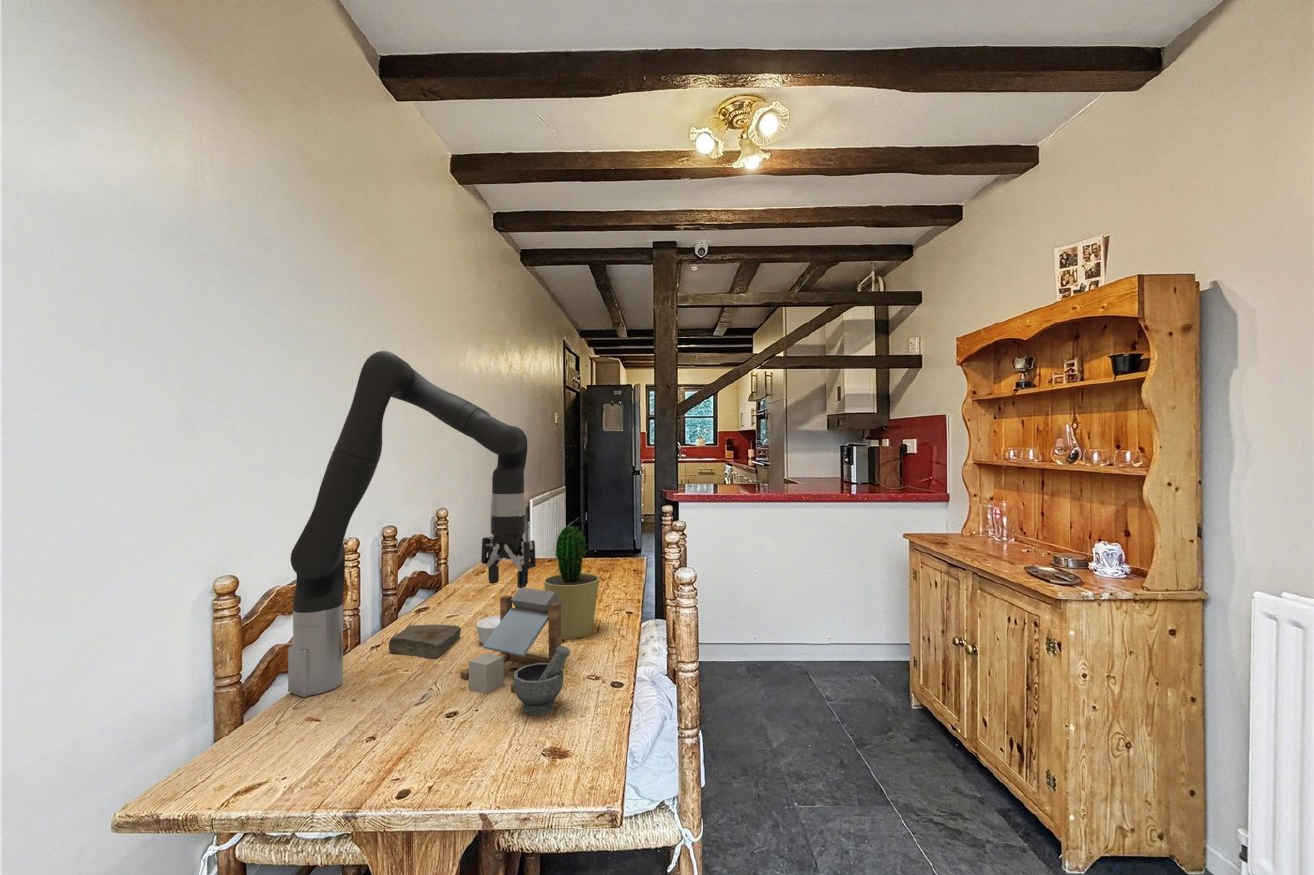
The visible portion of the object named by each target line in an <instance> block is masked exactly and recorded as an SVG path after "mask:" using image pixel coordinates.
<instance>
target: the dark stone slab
mask: <svg viewBox="0 0 1314 875" xmlns="http://www.w3.org/2000/svg"><path fill="white" fill-rule="evenodd" d="M461 632H462V628H461V626H460V625H451V624H437V623H436V624H418V625H417V624H413V625H412V624H411V625H409V626H407V627H405V628H404V629H403V630H402V631H400V632H397V633H396V634H395V635H393V636H392V637H391V638H390V639H389V642H388V650H389V652H390V653H393V654H395V655H399V656H409V657H411V656H412V657H416V658H423V659H438V658H440V657H441V656H442V655H444V654H445V653H446V652H447V651H448V650H449V649H451V647H452V646H453V645H455V643H456V642H457V641H459V640H460V638H461Z"/></svg>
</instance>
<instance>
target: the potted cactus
mask: <svg viewBox="0 0 1314 875" xmlns="http://www.w3.org/2000/svg"><path fill="white" fill-rule="evenodd" d="M556 534H557V535H556ZM556 534H555V536H556V537H557V539H556V540H555V542H556V543H553V544H554V546H555V548H553V549H554V551H553V552H554V555H553V556H552V558H553V557H554V558H553V561H558V562H557V566H558V568H557V571H556V572H558V574H554V575H550V576H548V577H545V578H544V579H543V584H544V586H543V587H544V591H551V592H555V593H556V595H557V596H558V598H559V600H560V602H561V604H562V606H563V607H562V609H561V640H574V639H581V638H585V637H587V636H589V635H590V634H592V633H593V630H594V623H595V622H594V621H595V614H596V607H597V598H598V590H599V585H600V584H599V583H600V576H599V575H597V574H593V573H587V572H582V569H583V562H584V559H583V558H585V556H586V552H587V548H586V547H587V545H589V544H588V543H587V544H586V539H585V538H586V536H584V535H583V534H584V532H583V531H581V530H580V527H579V526H575V525H574V526H573V525H571V526H565V527H563V528H562V529H561V532H560V531H559V533H558V532H556Z"/></svg>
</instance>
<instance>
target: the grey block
mask: <svg viewBox="0 0 1314 875" xmlns="http://www.w3.org/2000/svg"><path fill="white" fill-rule="evenodd" d="M504 663H505V662H504V661H503V657H502V656H498V654H493V653H489V652H488V653H487V652H485V653H484V654H481V655H480V656H478V657H475V658H473V659H470V660H469V661H468V668H469V679H468V690H469V691H473V692H478V693H482V694H485V695H488V694H489V693H491V692H492V691H494V690H496V689H498V688H500V687H502V686H504V682H505V681H504V677H505V675H504V673H505V672H504V671H505V670H504V665H505V664H504Z"/></svg>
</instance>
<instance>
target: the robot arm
mask: <svg viewBox="0 0 1314 875" xmlns="http://www.w3.org/2000/svg"><path fill="white" fill-rule="evenodd" d="M357 380H358V381H357V385H356V387H355V391H354V395H353V399H352V403H351V406H350V409H349V411H348V413H347V415H346V418H345V421H344V424H343V427H342V429H341V431H340V434H339V437H338V439H337V441H336V443H335V446H334V448H333V450H332V452H331V455H330V458H329V460H328V462H327V466H326V468H325V472H324V473H323V474H324V475H323V477H322V480H321V483H320V486H319V490H318V493H317V496H316V497H317V498H316V500H315V503H314V506H313V510H312V512H311V514H310V516H309V518H308V520H307V522H306V524H305V526H304V527H303V528H304V529H303V530H302V532H301V534H300V535H299V537H298V539H297V541H296V542H295V544H294V546H293V547H292V549H291V553H290V560H289V561H290V565H291V568H292V570H293V571H294V573H296V578H295V580H296V582H295V589H294V595H293V598H292V645H289V646H288V648H287V653H288V654H287V655H288V657H287V668H288V669H287V670H288V671H287V675H288V676H287V692H288V693H290V694H293V695H297V696H299V697H301V698H306V697H310V696H313V695H319V694H324V693H326V692H327V693H328V692H329V691H333V690H335V689H337V688H338V687H340V686H341V685H342V684H343V682H344V676H343V675H344V593H345V591H344V590H345V584H346V583H345V579H346V578H345V577H346V576H345V574H346V573H345V572H346V571H345V570H346V549H345V545H344V540H345V536H346V533H347V530H348V527H349V523H350V521H351V519H352V517H353V514H354V512H355V510H356V508H357V507H358V505H359V504H360V503H361V501H362V499H363V497H364V496H365V494H366V492H367V490H368V488H369V486H370V484H371V481H372V479H373V477H374V474H375V473H376V470H377V467H378V464H379V462H380V459H381V454H382V452H383V451H382V450H383V421H384V416H385V412H386V409H387V407H388V405H389V402H390V400H391V398H393V399H396V400H400V401H402V402H405V403H409V404H411V405H413V406H416V407H418V408H420V409H423V410H424V411H426V412H427V413H429V414H430V415H432V416H433V417H435V418H436V419H438V420H440V421H441V422H442V423H444V424H445V425H447V426H448V427H450V428H452V429H454V430H456V431H457V432H459V433H460V434H463V435H465V436H467V437H470V439H473V440H475V442H477V443H479V445H481V446H482V447H484V448H485V449H487V450H488V451H490V452H491V453H493V454H496V455H497V466H496V468H495V469H494V470H493V472H492V479H491V480H492V481H491V486H492V487H491V491H492V492H491V493H492V494H491V502H490V534H491V535H492V536H491V535H490V536H487V537H483V538H482V539H481V540H482V542H481V556H480V557H481V560H480V562H481V564H485V565H486V566H487V568H488V581H489V584H492V585H494V584H496V583H499V580H500V579H499V578H500V575H499V574H500V573H499V572H500V571H499V570H500V569H499V564H500V562H501V560H502V559H506V560H510V561H511V562H512V564H515V565H516V568H517V570H518V571H517V574H516V575H517V580H516V581H517V585H516V586H517V588H518V589H519V588H527V585H528V584H529V570H530V569H532V568H535V567H536V565H537V561H536V558H537V557H536V542H535V540H533V539H532V540H524V535H525V533H526V499H525V476H524V474H525V469H526V463H527V457H528V437H527V435H526V433H525V432H524V430H523V429H522V428H520V427H517V426H515V425H514V426H513V425H509V424H507V423H504V422H503V421H501V420H499V419H497V418H495V417H493V416H492V415H491V414H490V413H489V412H488V411H486V410H485V409H483V408H481V407H480V406H478V405H476V404H474V403H472V402H470V401H468V400H466V399H465V398H462V397H461V396H458V395H456V394H454V393H452V392H449V391H446V390H445V389H443V388H440V387H439V386H437V385H436V384H433V383H432V382H430V381H429V380H427V378H425V377H424V376H422V375H421V374H420V373H419V372H417V371H416V370H415V369H413V367H412V365H410V364H409V363H408V362H407V361H405V360H403V359H402V358H401V357H400V356H398V355H396V354H394V353H393V352H391V351H388V350H380V351H379V350H378V351H376V352H374V353H372V354H371V355H370V356H369V357H367V359H366V360H365V362H364V363H363V365H362V367H361V370H360V373H359V376H358V379H357Z"/></svg>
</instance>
